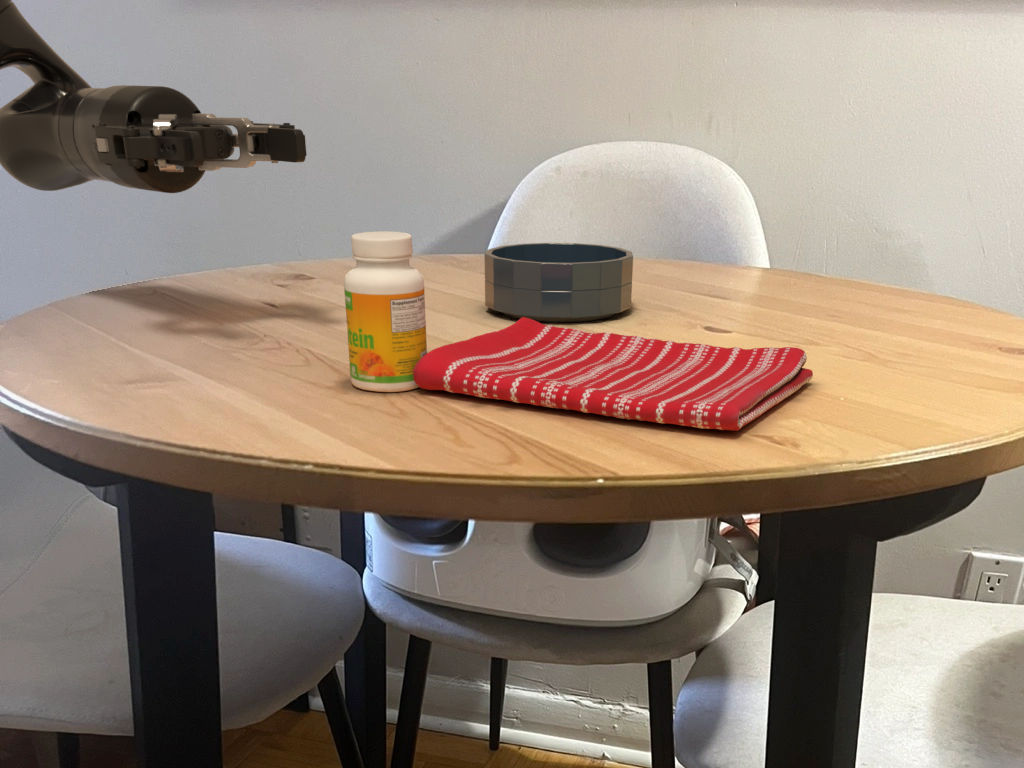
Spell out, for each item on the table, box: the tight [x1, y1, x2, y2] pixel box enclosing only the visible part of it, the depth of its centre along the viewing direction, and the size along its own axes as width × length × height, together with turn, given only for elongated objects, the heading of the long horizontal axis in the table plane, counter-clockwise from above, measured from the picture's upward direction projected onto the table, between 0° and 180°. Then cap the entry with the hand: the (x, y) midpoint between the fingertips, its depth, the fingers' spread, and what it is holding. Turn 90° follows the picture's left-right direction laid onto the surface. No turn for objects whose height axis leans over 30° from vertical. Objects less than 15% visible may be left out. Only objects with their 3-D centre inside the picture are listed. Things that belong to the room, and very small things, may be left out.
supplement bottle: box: [343, 230, 428, 393], centre depth 79 cm, size 5×5×10 cm
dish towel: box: [413, 317, 814, 432], centre depth 80 cm, size 17×24×3 cm
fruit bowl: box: [484, 242, 634, 323], centre depth 104 cm, size 13×13×5 cm
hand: (251, 147), depth 83 cm, fingers open, 8 cm apart
